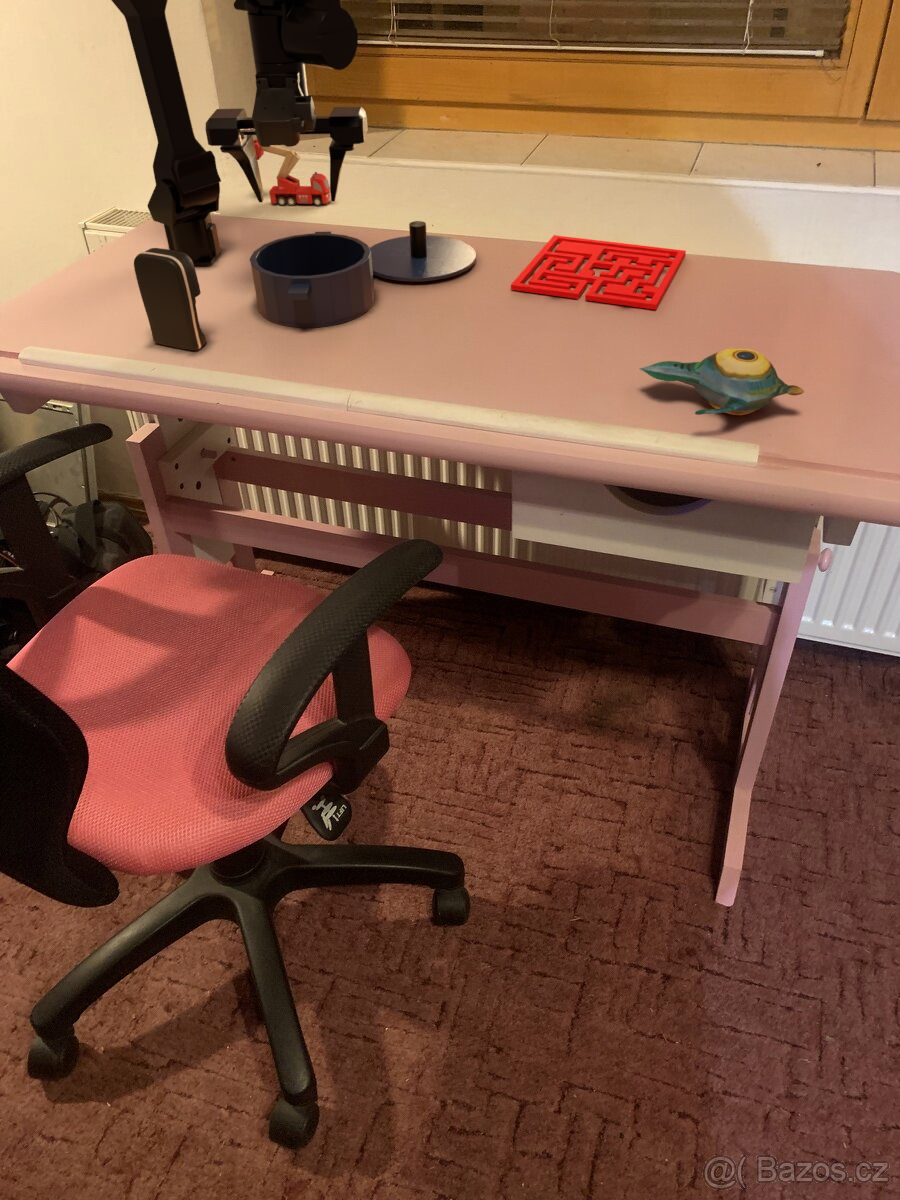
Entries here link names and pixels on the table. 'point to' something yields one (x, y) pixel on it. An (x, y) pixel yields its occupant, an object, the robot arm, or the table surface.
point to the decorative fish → (728, 380)
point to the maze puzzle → (615, 288)
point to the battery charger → (170, 297)
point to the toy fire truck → (294, 181)
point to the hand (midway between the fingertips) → (297, 201)
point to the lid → (421, 256)
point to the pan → (313, 279)
